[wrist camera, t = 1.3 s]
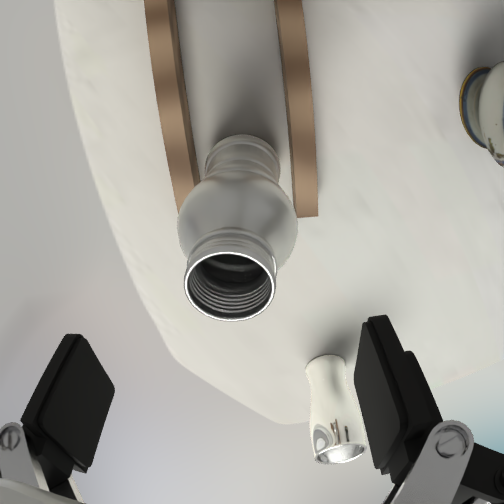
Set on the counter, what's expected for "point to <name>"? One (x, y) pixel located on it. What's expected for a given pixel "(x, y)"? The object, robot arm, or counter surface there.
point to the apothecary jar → (485, 109)
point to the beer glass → (333, 413)
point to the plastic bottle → (236, 230)
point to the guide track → (177, 112)
